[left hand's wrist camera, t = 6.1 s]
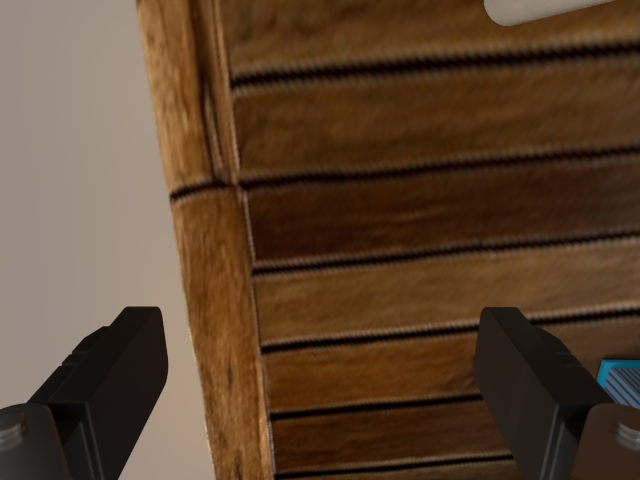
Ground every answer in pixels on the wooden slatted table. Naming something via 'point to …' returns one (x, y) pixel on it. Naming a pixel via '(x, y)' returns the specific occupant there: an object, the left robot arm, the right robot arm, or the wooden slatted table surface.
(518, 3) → the beige tall cylinder
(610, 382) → the model building
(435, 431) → the wooden slatted table surface
